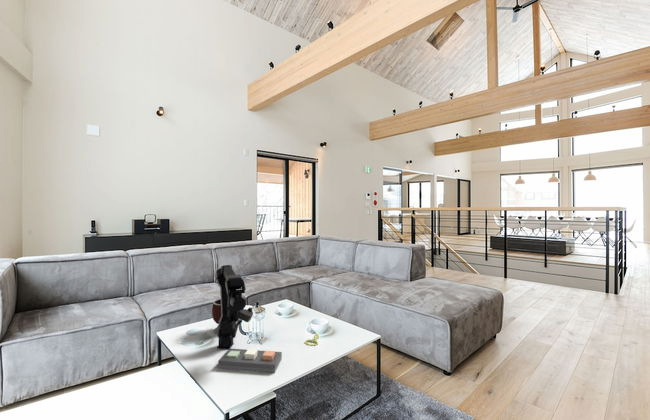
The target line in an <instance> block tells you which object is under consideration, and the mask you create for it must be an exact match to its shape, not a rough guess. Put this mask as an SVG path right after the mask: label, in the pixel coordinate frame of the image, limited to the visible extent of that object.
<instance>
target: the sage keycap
mask: <svg viewBox="0 0 650 420" xmlns="http://www.w3.org/2000/svg"><path fill="white" fill-rule="evenodd" d="M239 355H240V351H230V352H229V353H228V354H227V358H237V357H238V356H239Z"/></svg>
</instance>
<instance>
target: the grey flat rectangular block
mask: <svg viewBox="0 0 650 420" xmlns="http://www.w3.org/2000/svg"><path fill="white" fill-rule="evenodd" d="M247 350H248V349H246V348H245V349H240V348H232V347H231V348H229V349H227V350H226V351H225V353H224V354H223V355H222V356H221V357H220V358H219V359H218V365H217V366H218V367H217V368H218V369H221V370H235V371H248V372H249V371H250V372H259V373H261V372H262V373H274V374H275V373H276V371H277V369H278V367H279V365H280V363H281V362H282V357H283V354H282V353H283V352H282V351H275V358H274V359H273V361H269V360H263V354H264V352H265V351H266V350H259V349H257V350H258V355H257V357H256V358H255V359H244V358H245V353H246V351H247ZM230 351H240V355H239V356H238V357H237V358H227V354H228V353H229V352H230Z"/></svg>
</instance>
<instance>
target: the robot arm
mask: <svg viewBox="0 0 650 420" xmlns="http://www.w3.org/2000/svg"><path fill="white" fill-rule="evenodd" d="M214 275H215V276H214V277H215V278H214V279H215V280H216V284H217V286H218V287H219V289H220V290H219V291H220V292H219V293H220V299H221V318H220V320H219V324H217V327H216V328H217V330H216V333H217V334H216V336H217V338H218V346H217V347H216V348H217V350H218V349H220V350H229V348H231V349H232V347H233V345H235V344H234V339H235V338H236V336H237V332H238V329H239V326H240V324H241V323H242V322H243V321H244V322H245V323H249V322H250V321H251V320H252V318H253V315H254V312H253V308H252V307H250V306H249V307H248V308H247V309H245V308H246V306H247V302H246V299H245V298H244V297H243V296H242V294H245V293H246V289H247V288H246V285H245V281H244V279H243V277H242V276H240V275H238V274H236V273H235V271H234V270H233V266H232V265H231V264H224V265H221V266H220V268H218V269H217V270H215V274H214Z"/></svg>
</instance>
